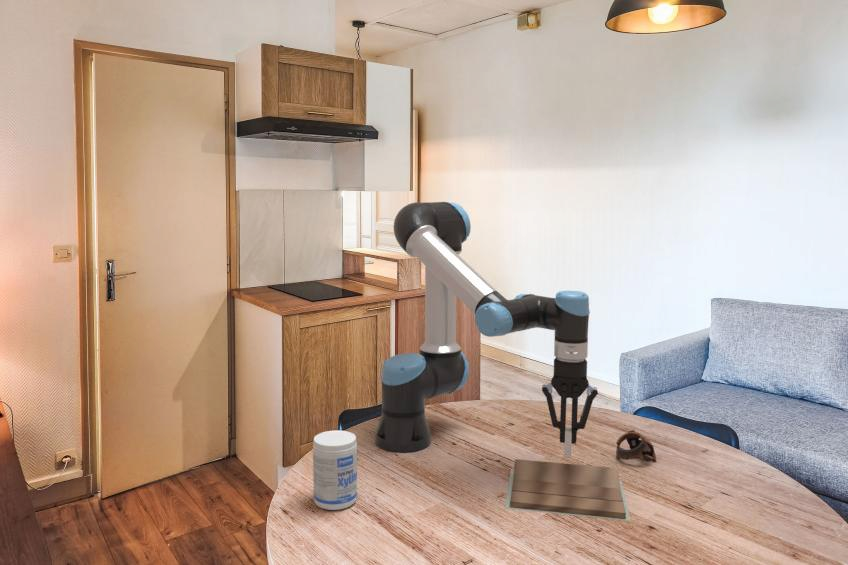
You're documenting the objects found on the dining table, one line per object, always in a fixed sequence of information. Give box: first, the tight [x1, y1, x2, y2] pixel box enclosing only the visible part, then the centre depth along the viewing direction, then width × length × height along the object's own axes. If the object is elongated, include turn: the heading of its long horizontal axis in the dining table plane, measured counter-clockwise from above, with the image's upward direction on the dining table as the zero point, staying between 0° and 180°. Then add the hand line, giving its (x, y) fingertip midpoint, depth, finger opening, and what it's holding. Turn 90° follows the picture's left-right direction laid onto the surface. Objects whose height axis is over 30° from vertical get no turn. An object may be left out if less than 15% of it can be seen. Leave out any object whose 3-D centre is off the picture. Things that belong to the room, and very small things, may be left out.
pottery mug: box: [615, 429, 657, 462], centre depth 166 cm, size 12×10×8 cm
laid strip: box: [510, 491, 626, 518], centre depth 139 cm, size 24×5×1 cm, turn 79°
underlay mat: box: [505, 469, 632, 522], centre depth 146 cm, size 26×20×1 cm
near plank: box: [512, 479, 623, 502], centre depth 145 cm, size 24×6×1 cm, turn 79°
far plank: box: [513, 458, 620, 489], centre depth 150 cm, size 24×6×1 cm, turn 79°
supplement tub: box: [312, 429, 358, 511], centre depth 141 cm, size 10×10×15 cm
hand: (567, 455), depth 152 cm, fingers closed
